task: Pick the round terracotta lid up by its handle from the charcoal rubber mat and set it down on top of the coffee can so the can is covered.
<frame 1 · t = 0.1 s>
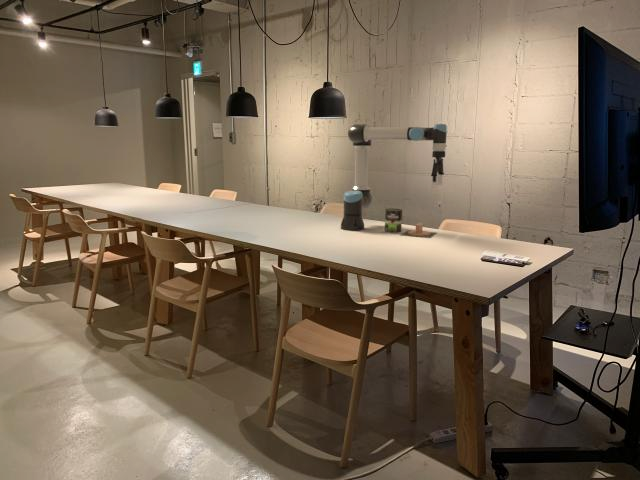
hand: (437, 186, 288), 28 cm above the table, tool pointing down, fingers open, 13 cm apart
mat: (418, 234, 284), on the table
lid: (418, 234, 283), resting on mat
coffee can: (392, 232, 290), on the table
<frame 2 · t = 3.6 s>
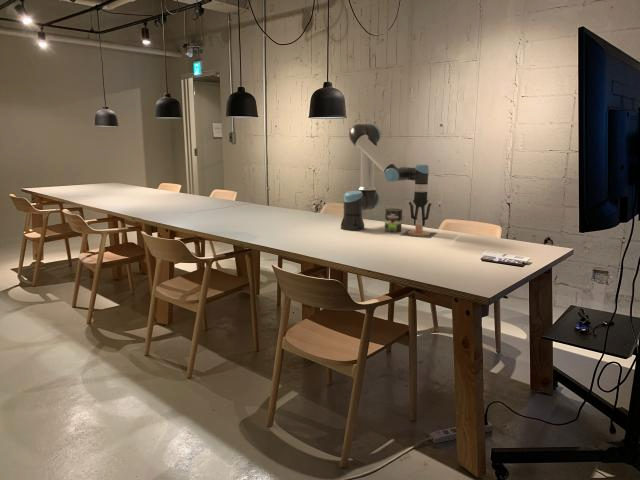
hand: (419, 230, 283), 3 cm above the table, tool pointing down, fingers closed on lid, 2 cm apart
lid: (418, 233, 283), point 1 cm above the table, touching gripper, mat
everything else where it was.
when the fingers open (17 cm above the table, at t = 7.5 s): lid drops 1 cm, resting on coffee can.
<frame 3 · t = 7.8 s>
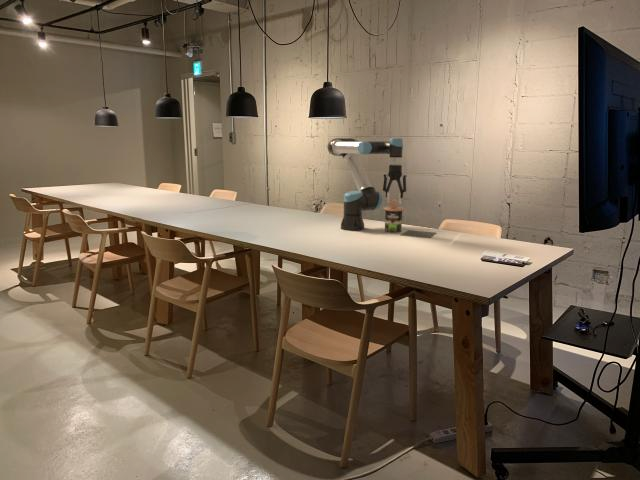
hand: (394, 203, 287), 18 cm above the table, tool pointing down, fingers open, 7 cm apart
lid: (393, 209, 287), point 14 cm above the table, touching coffee can
coffee can: (392, 232, 290), on the table, touching lid
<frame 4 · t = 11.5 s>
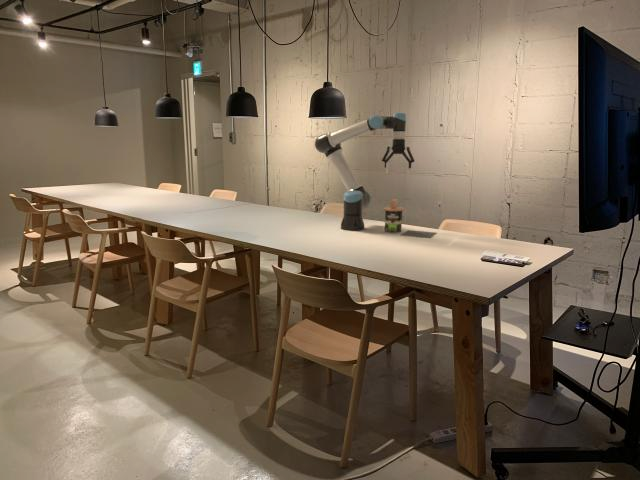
hand: (397, 173, 297), 35 cm above the table, tool pointing down, fingers open, 13 cm apart
nothing on the table moved.
at the end: lid 0.1 cm from the coffee can (horizontally); lid point 14.0 cm above the table; lid tilted 0° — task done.
